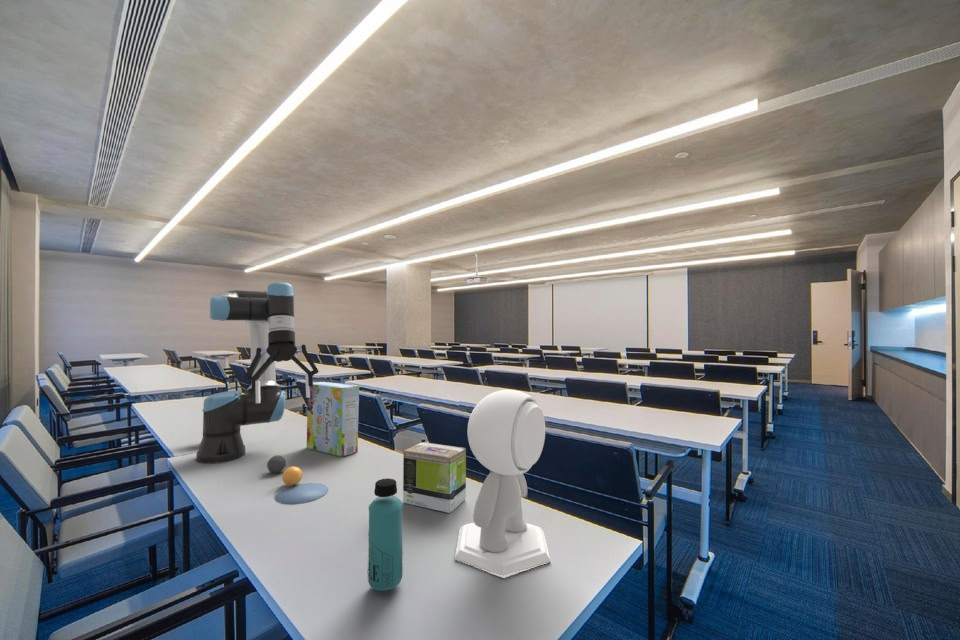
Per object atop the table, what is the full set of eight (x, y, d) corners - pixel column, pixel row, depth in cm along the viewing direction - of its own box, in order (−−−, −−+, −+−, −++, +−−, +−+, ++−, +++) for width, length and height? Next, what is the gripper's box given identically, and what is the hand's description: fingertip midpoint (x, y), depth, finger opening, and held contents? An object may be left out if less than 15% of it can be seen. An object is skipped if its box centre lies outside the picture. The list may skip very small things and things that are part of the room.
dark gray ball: (274, 469, 134) (274, 452, 134) (289, 470, 133) (289, 453, 133) (263, 475, 129) (263, 458, 129) (278, 476, 128) (278, 459, 128)
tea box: (466, 499, 112) (467, 447, 112) (449, 515, 103) (449, 457, 103) (421, 489, 119) (422, 440, 119) (401, 503, 109) (402, 449, 110)
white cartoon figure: (530, 590, 74) (531, 402, 75) (433, 551, 86) (435, 390, 87) (566, 541, 91) (568, 388, 91) (481, 515, 103) (483, 380, 104)
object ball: (289, 480, 124) (290, 463, 124) (305, 482, 123) (306, 464, 123) (278, 488, 119) (278, 469, 119) (294, 489, 118) (295, 470, 118)
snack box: (359, 452, 153) (360, 385, 153) (341, 458, 145) (342, 388, 146) (323, 442, 164) (324, 380, 164) (304, 448, 157) (305, 382, 157)
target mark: (295, 482, 123) (295, 481, 123) (337, 485, 121) (337, 484, 121) (263, 501, 109) (263, 501, 109) (310, 506, 107) (310, 505, 107)
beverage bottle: (409, 581, 76) (410, 476, 76) (390, 604, 70) (391, 490, 70) (379, 574, 78) (381, 472, 79) (359, 595, 72) (360, 485, 72)
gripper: (232, 331, 117) (232, 405, 112) (323, 326, 125) (327, 394, 120) (239, 336, 123) (239, 405, 119) (325, 331, 131) (328, 396, 127)
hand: (283, 400), depth 120 cm, fingers open, 13 cm apart
